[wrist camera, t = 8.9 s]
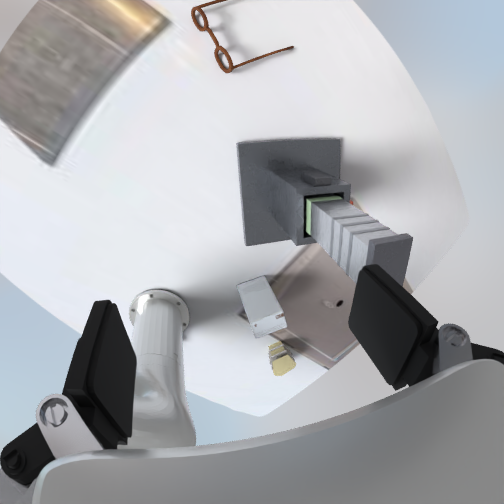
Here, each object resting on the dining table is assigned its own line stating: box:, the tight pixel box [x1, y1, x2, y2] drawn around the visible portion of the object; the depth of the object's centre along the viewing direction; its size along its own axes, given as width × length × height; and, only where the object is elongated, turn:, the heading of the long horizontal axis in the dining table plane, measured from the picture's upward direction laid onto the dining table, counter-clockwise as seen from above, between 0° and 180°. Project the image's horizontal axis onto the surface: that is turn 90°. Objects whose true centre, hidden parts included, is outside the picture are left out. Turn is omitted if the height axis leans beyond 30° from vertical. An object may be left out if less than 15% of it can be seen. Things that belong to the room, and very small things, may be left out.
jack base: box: [236, 138, 353, 246], centre depth 43 cm, size 18×18×14 cm
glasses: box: [191, 0, 294, 73], centre depth 32 cm, size 13×13×5 cm
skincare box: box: [237, 276, 287, 338], centre depth 51 cm, size 6×4×12 cm
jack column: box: [304, 193, 413, 286], centre depth 33 cm, size 6×5×21 cm
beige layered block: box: [268, 341, 296, 376], centre depth 65 cm, size 10×9×6 cm
